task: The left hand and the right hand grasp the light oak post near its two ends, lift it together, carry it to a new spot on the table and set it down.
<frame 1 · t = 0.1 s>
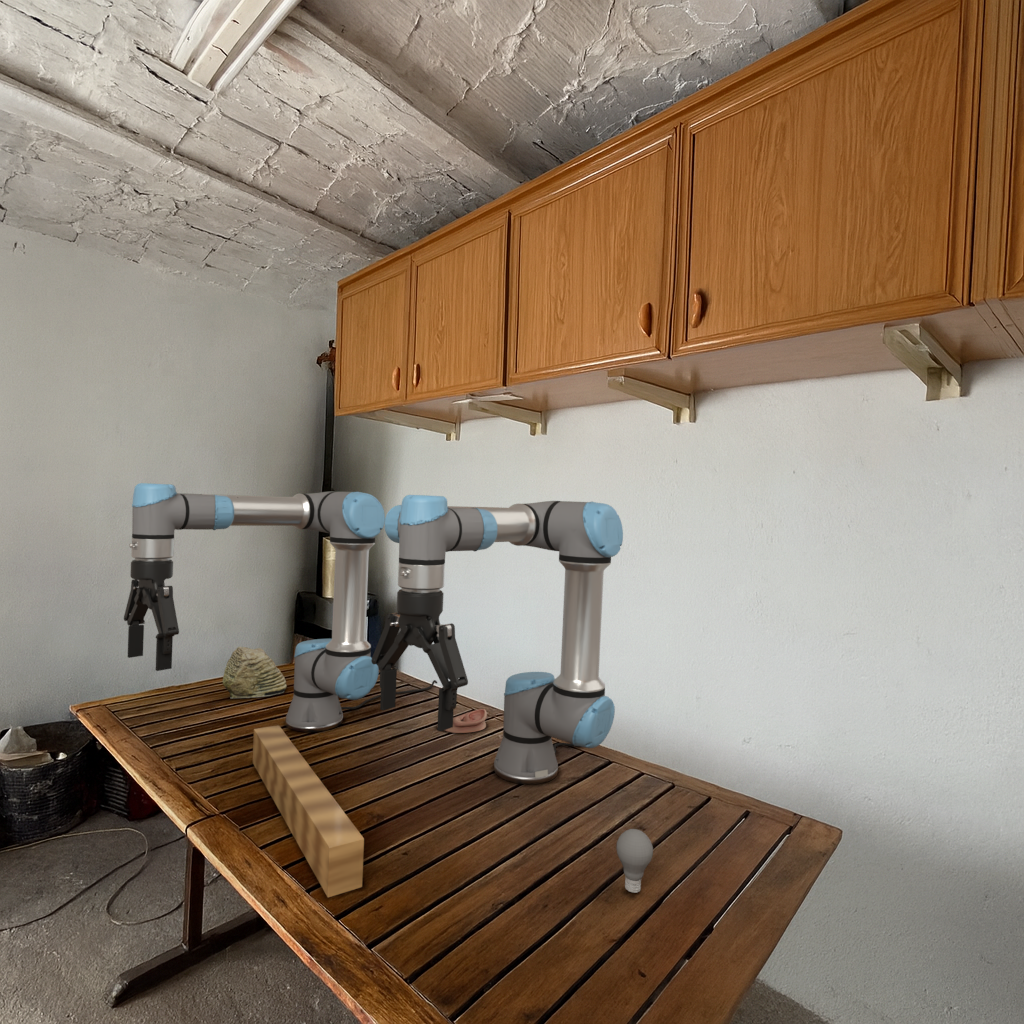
left hand: (149, 662, 129), 28 cm above the table, tool pointing down, fingers open, 13 cm apart
right hand: (415, 718, 104), 28 cm above the table, tool pointing down, fingers open, 13 cm apart
post: (297, 813, 126), on the table
anatomical model: (462, 726, 178), on the table
fossil: (254, 694, 198), on the table
light bulb: (632, 891, 106), on the table
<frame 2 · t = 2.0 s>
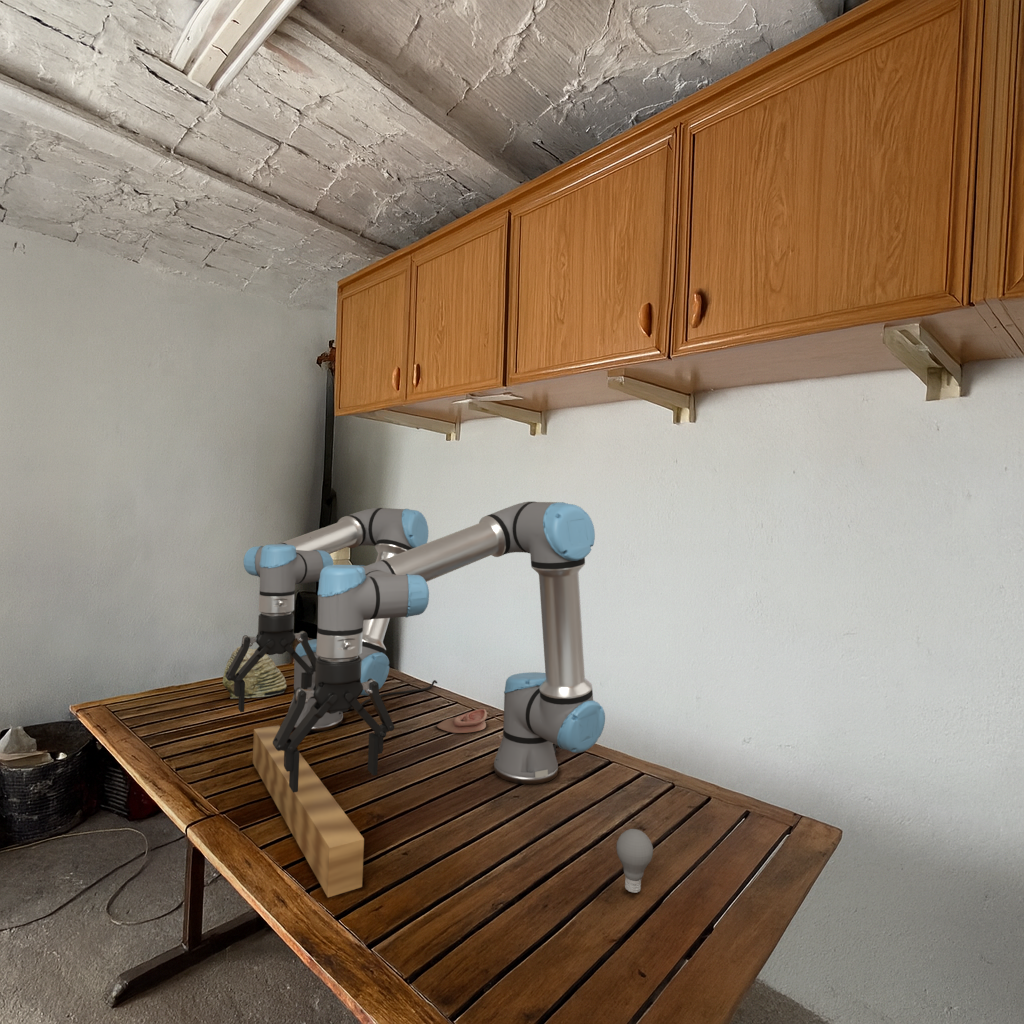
left hand: (273, 706, 144), 15 cm above the table, tool pointing down, fingers open, 13 cm apart
right hand: (334, 780, 108), 15 cm above the table, tool pointing down, fingers open, 13 cm apart
nothing on the table moved.
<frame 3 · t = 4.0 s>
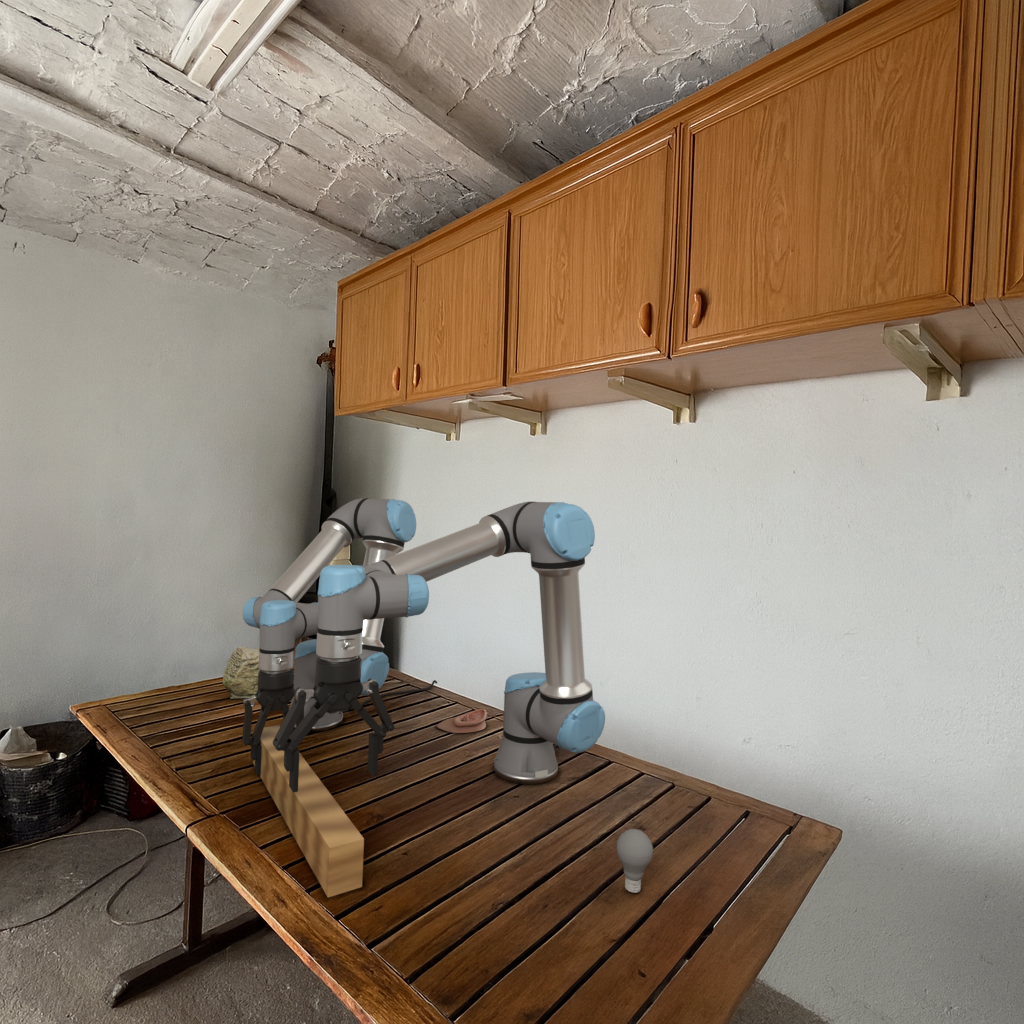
left hand: (272, 770, 144), 1 cm above the table, tool pointing down, fingers closed on post, 6 cm apart
right hand: (334, 780, 108), 15 cm above the table, tool pointing down, fingers open, 13 cm apart
post: (297, 813, 126), on the table, touching left hand
everything else where it was.
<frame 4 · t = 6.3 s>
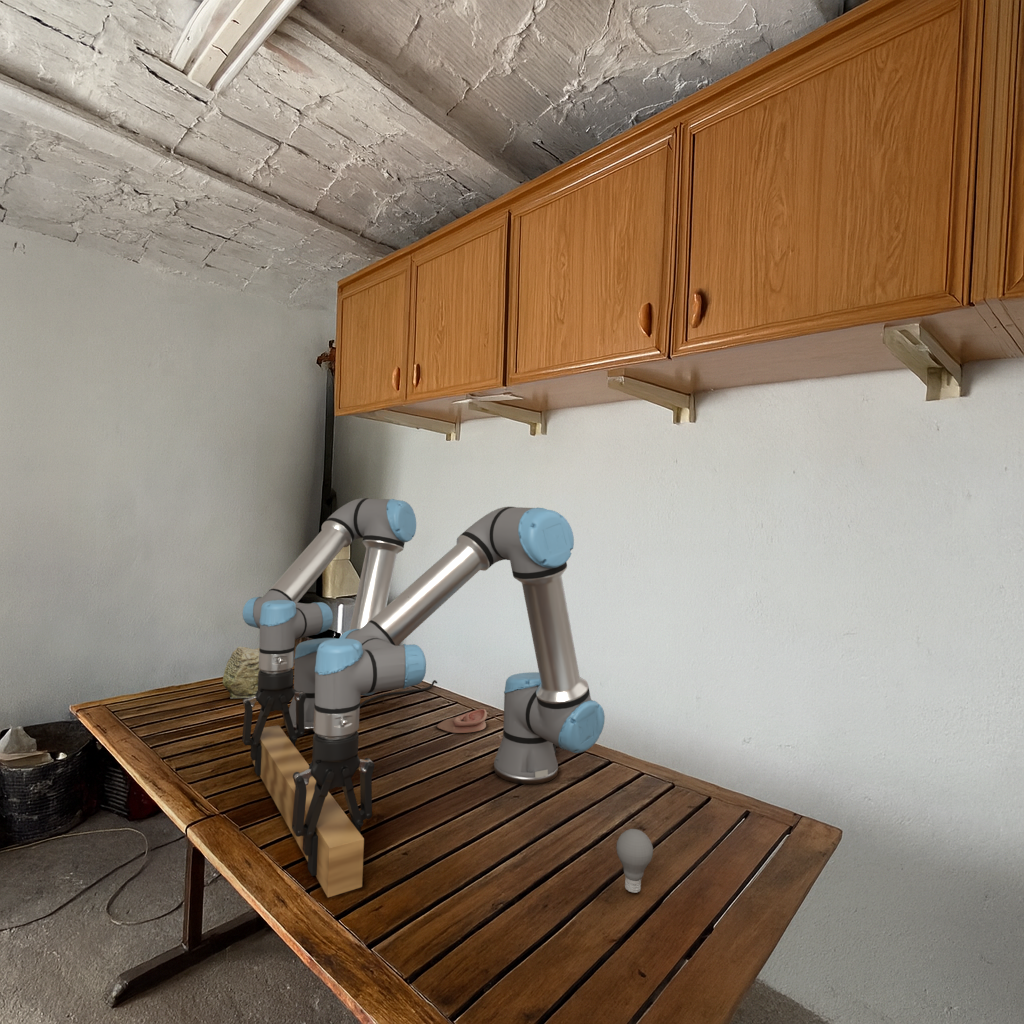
left hand: (272, 770, 144), 1 cm above the table, tool pointing down, fingers closed on post, 6 cm apart
right hand: (331, 865, 108), 1 cm above the table, tool pointing down, fingers closed on post, 6 cm apart
post: (297, 813, 126), on the table, touching left hand, right hand
everything else where it was.
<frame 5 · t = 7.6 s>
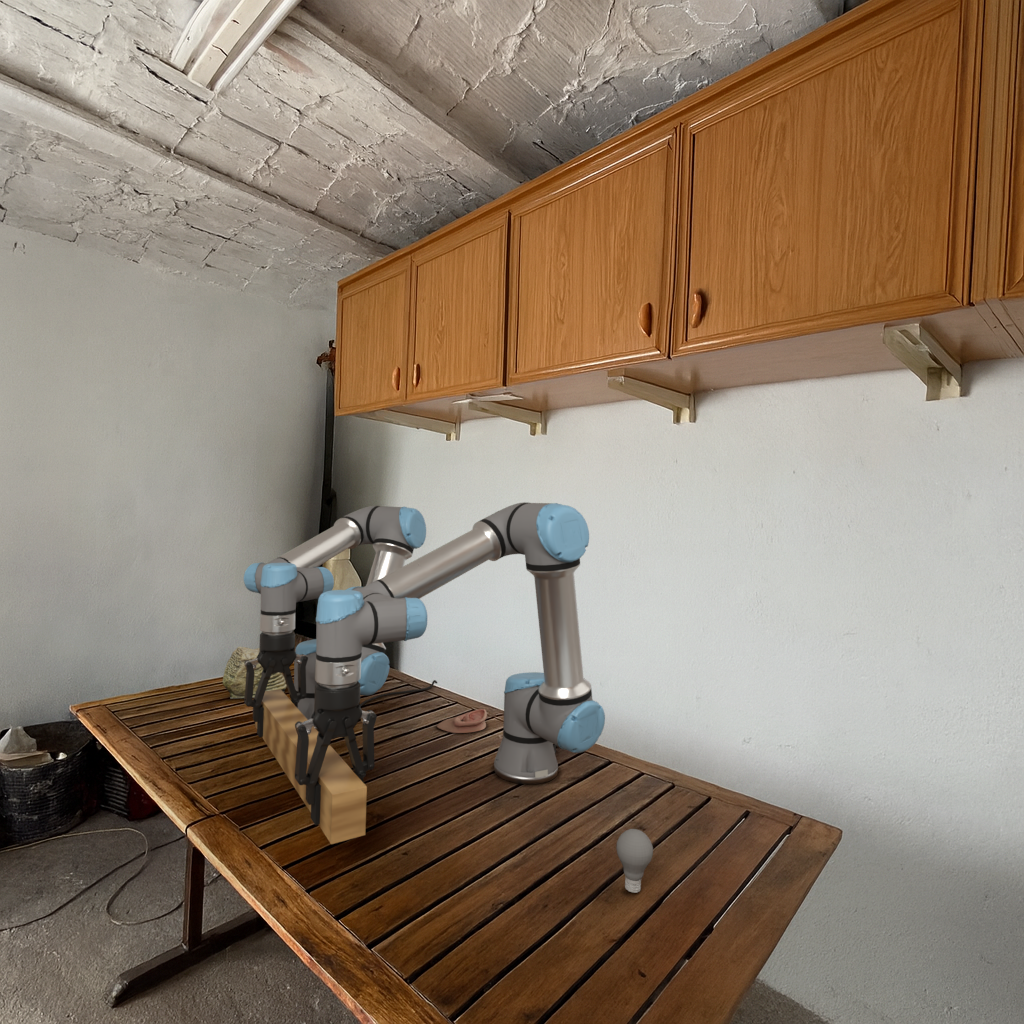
left hand: (274, 732, 144), 9 cm above the table, tool pointing down, fingers closed on post, 6 cm apart
right hand: (334, 816, 108), 9 cm above the table, tool pointing down, fingers closed on post, 6 cm apart
post: (300, 770, 126), point 9 cm above the table, touching left hand, right hand
everything else where it was.
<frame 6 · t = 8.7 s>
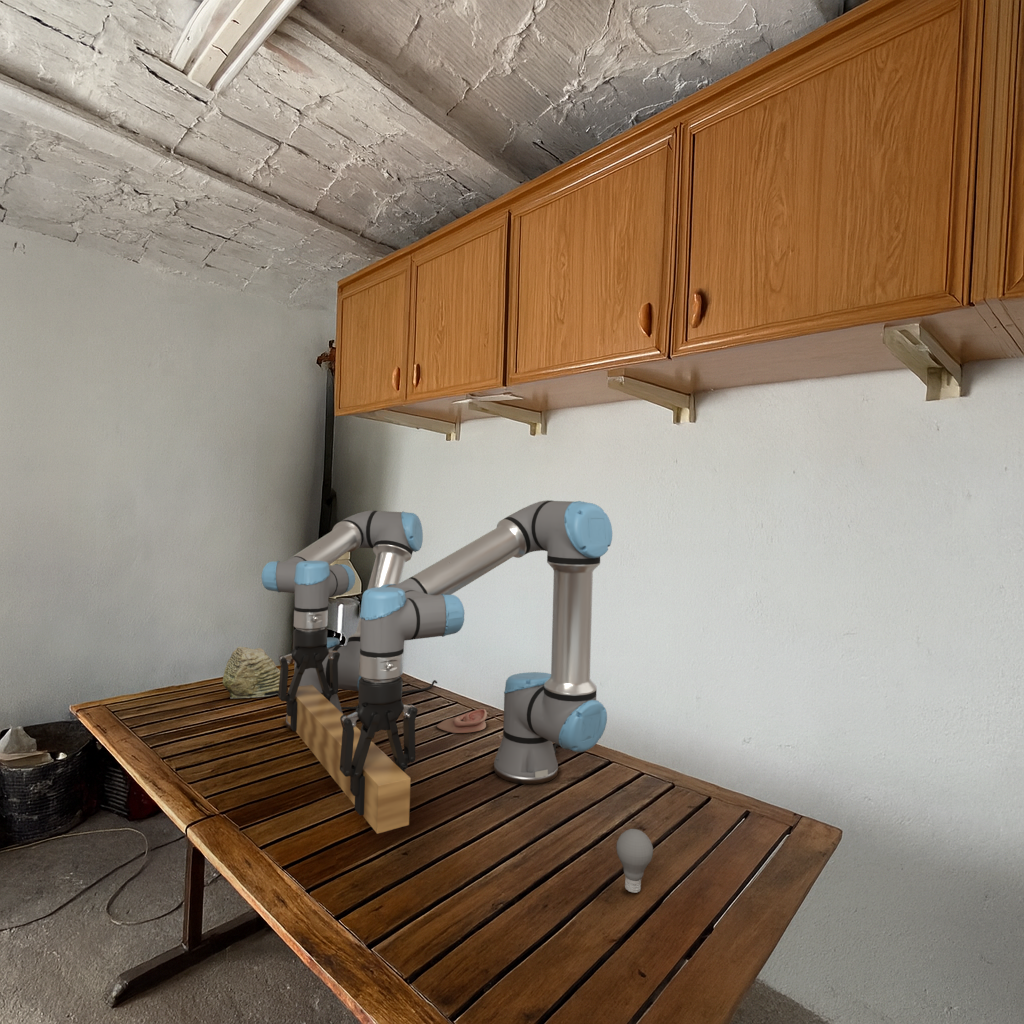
left hand: (307, 726, 147), 10 cm above the table, tool pointing down, fingers closed on post, 6 cm apart
right hand: (377, 806, 111), 9 cm above the table, tool pointing down, fingers closed on post, 6 cm apart
post: (337, 763, 129), point 9 cm above the table, touching left hand, right hand
everything else where it was.
when the left hand's fingers open (2 cm above the table, at t = 11.4 s): post drops 2 cm, on the table.
when the right hand's fingers open (2 cm above the table, at t = 11.4 s): post drops 2 cm, on the table.
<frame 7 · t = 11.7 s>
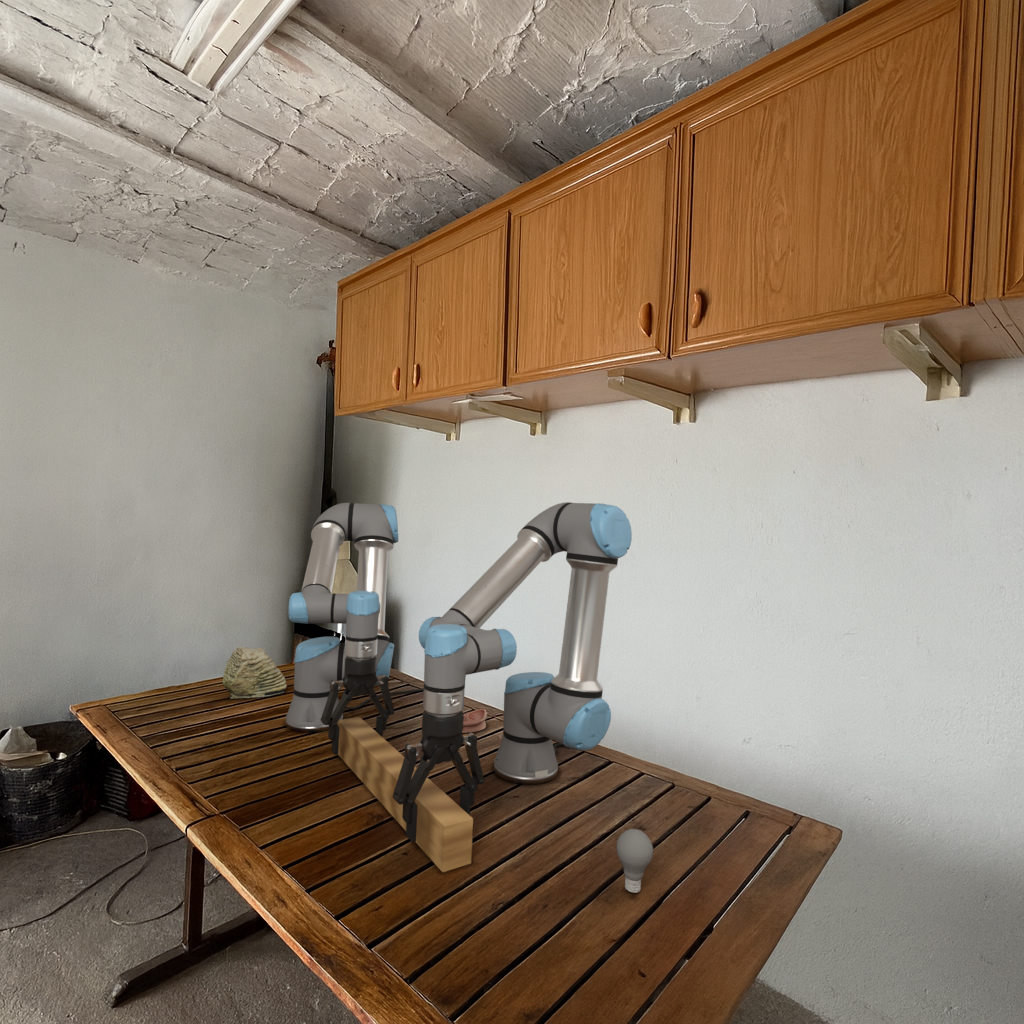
left hand: (357, 748, 152), 3 cm above the table, tool pointing down, fingers open, 10 cm apart
right hand: (438, 830, 116), 3 cm above the table, tool pointing down, fingers open, 10 cm apart
post: (392, 798, 134), on the table
everything else where it was.
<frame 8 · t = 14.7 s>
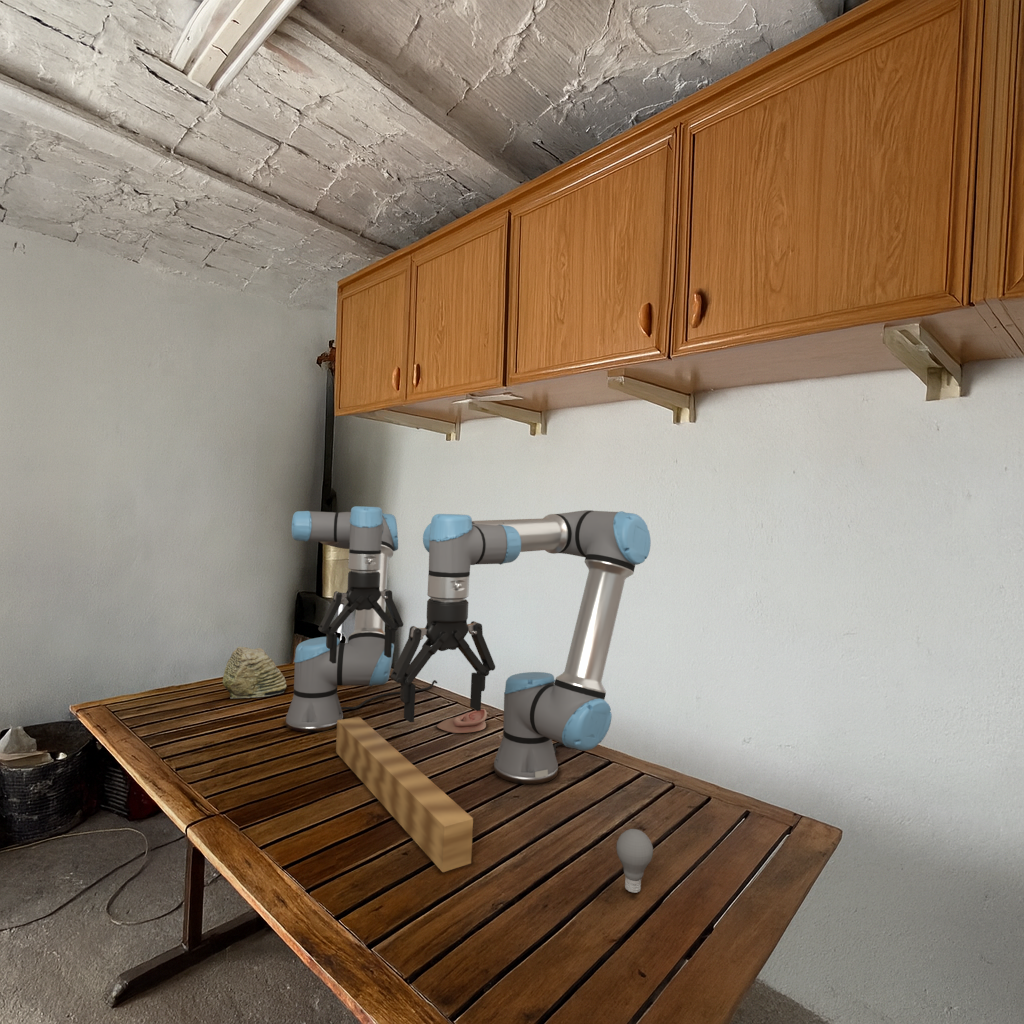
left hand: (360, 659, 152), 25 cm above the table, tool pointing down, fingers open, 13 cm apart
right hand: (443, 714, 116), 25 cm above the table, tool pointing down, fingers open, 13 cm apart
nothing on the table moved.
at the end: post inside the target area (0.1 cm from its centre), on the table; post tilted 0°; post never tilted more than 1° during the clip; both hands held the post at the same time; the left hand is holding nothing; the right hand is holding nothing; post at rest at the end (0.0 cm/s) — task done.
